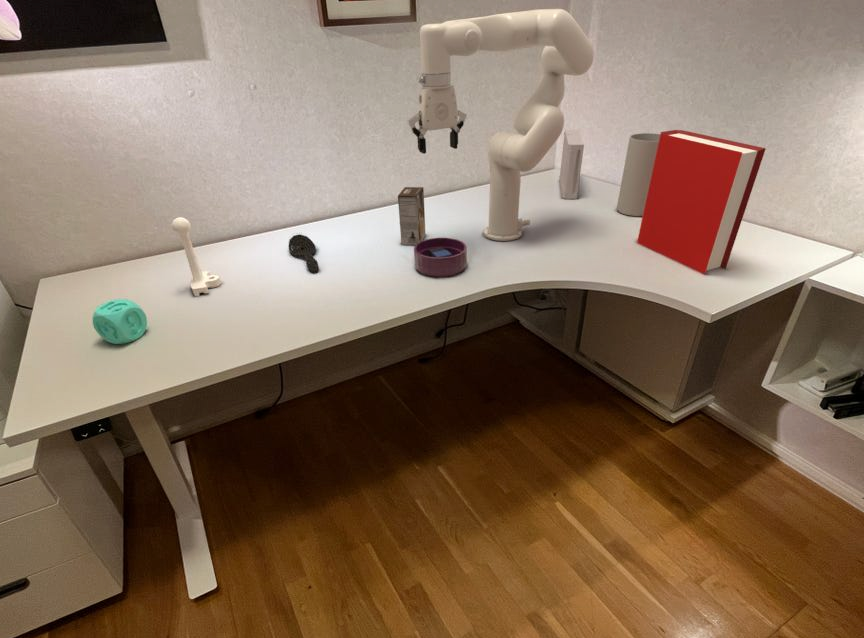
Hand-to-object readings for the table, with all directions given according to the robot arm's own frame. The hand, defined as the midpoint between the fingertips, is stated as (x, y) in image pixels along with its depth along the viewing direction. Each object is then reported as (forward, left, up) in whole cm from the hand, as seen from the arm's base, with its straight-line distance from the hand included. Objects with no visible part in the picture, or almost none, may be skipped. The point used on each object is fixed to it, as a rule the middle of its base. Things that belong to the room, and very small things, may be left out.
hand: (438, 150), depth 140 cm
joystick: (+69, -9, -30) cm, 76 cm away
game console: (-73, -32, -30) cm, 85 cm away
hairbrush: (+39, -15, -30) cm, 52 cm away
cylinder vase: (-77, +2, -30) cm, 83 cm away
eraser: (+5, +11, -29) cm, 31 cm away
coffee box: (+4, -12, -30) cm, 33 cm away
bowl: (+5, +11, -30) cm, 32 cm away
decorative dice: (+89, +10, -30) cm, 94 cm away
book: (-61, +37, -30) cm, 77 cm away
